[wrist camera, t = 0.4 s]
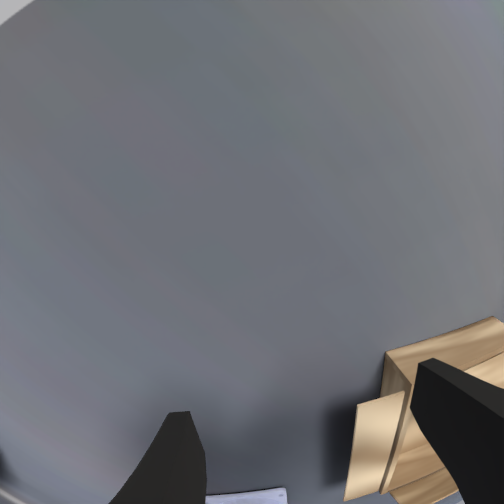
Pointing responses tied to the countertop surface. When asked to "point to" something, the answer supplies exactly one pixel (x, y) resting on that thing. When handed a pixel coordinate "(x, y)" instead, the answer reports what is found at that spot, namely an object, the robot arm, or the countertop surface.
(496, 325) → the carton
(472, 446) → the robot arm
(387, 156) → the countertop surface
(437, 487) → the flap far
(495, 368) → the flap near
